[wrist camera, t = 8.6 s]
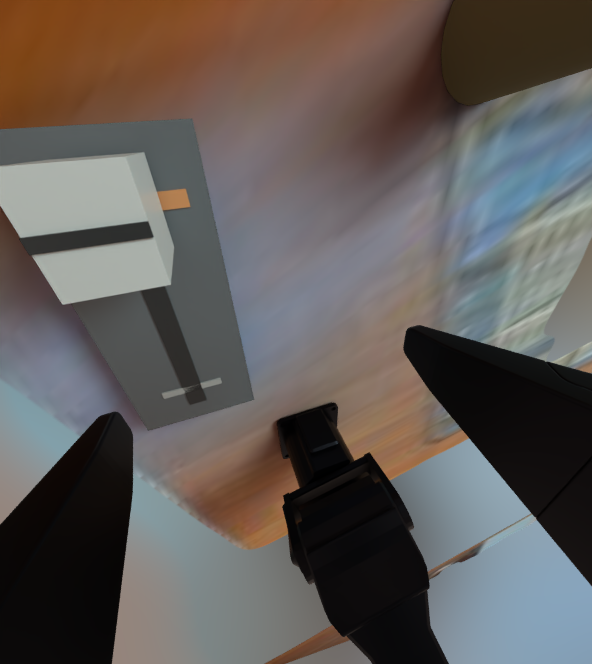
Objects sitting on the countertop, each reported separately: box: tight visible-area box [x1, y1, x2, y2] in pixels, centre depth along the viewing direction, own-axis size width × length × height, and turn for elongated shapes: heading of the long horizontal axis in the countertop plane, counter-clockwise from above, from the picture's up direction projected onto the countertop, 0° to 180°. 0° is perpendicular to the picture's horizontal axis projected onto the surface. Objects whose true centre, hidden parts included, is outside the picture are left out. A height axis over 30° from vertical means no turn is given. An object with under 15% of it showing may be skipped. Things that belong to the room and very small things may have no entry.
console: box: [0, 119, 254, 431], centre depth 17 cm, size 18×8×2 cm, turn 4°
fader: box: [0, 152, 174, 305], centre depth 10 cm, size 4×4×5 cm
